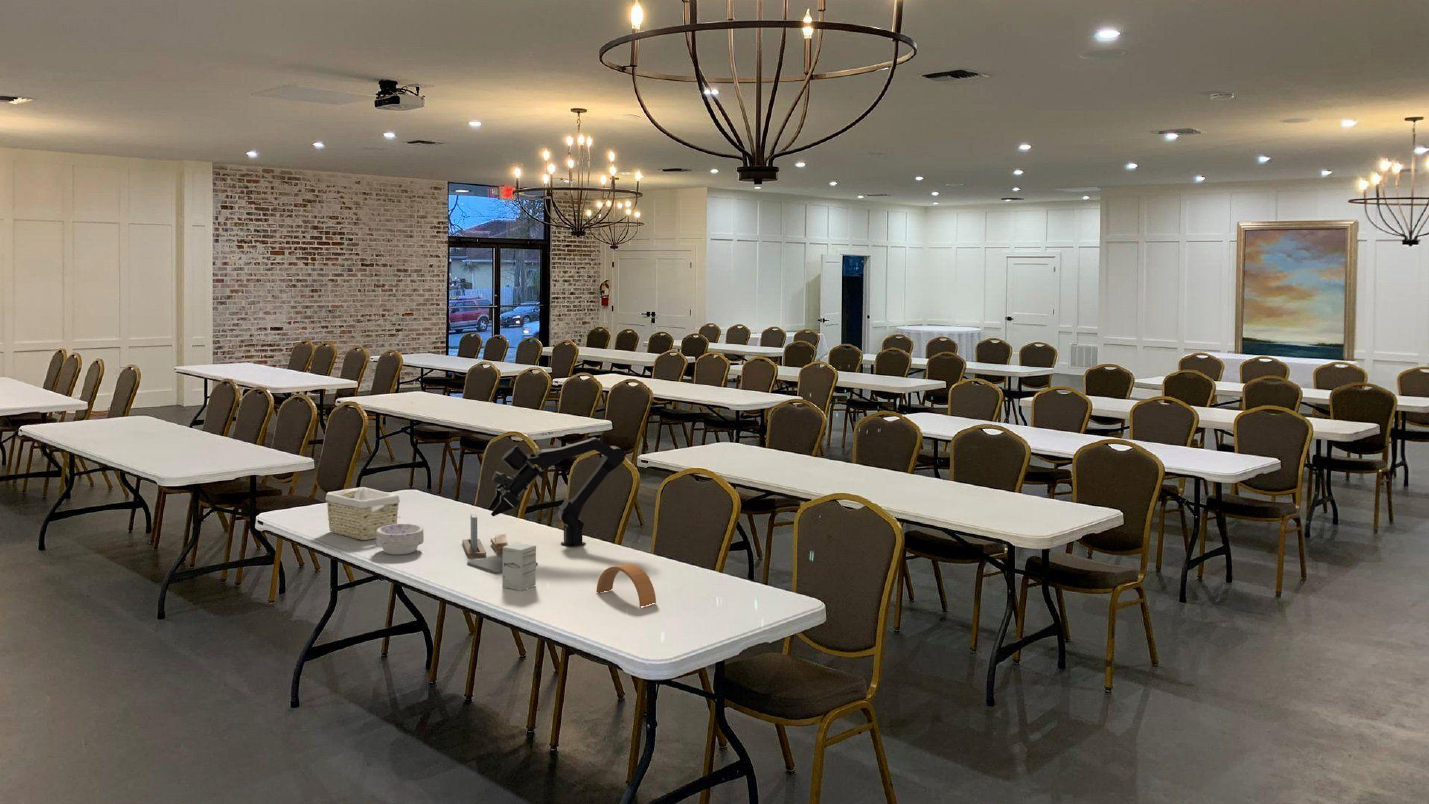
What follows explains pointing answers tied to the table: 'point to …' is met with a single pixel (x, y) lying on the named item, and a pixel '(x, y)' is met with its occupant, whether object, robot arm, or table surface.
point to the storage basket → (361, 511)
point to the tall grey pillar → (474, 532)
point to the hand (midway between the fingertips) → (490, 512)
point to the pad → (490, 564)
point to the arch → (638, 579)
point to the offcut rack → (496, 542)
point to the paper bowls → (400, 538)
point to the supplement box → (519, 566)
